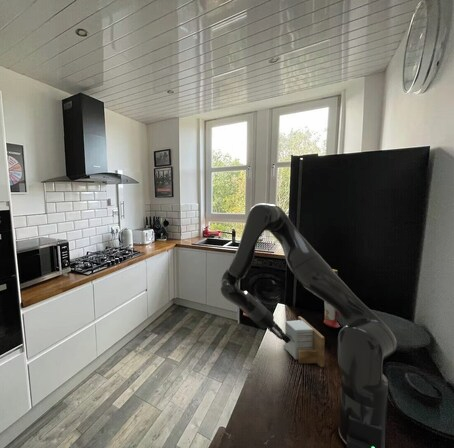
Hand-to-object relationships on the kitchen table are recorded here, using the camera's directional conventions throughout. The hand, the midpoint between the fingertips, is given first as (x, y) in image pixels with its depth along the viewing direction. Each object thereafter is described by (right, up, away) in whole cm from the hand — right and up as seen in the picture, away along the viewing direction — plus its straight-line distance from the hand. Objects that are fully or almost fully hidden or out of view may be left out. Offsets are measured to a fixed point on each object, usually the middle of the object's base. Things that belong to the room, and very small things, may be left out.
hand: (288, 340), depth 101 cm
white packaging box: (+5, -6, 0) cm, 7 cm away
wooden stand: (+6, -6, 0) cm, 8 cm away
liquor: (+32, -2, +19) cm, 37 cm away
